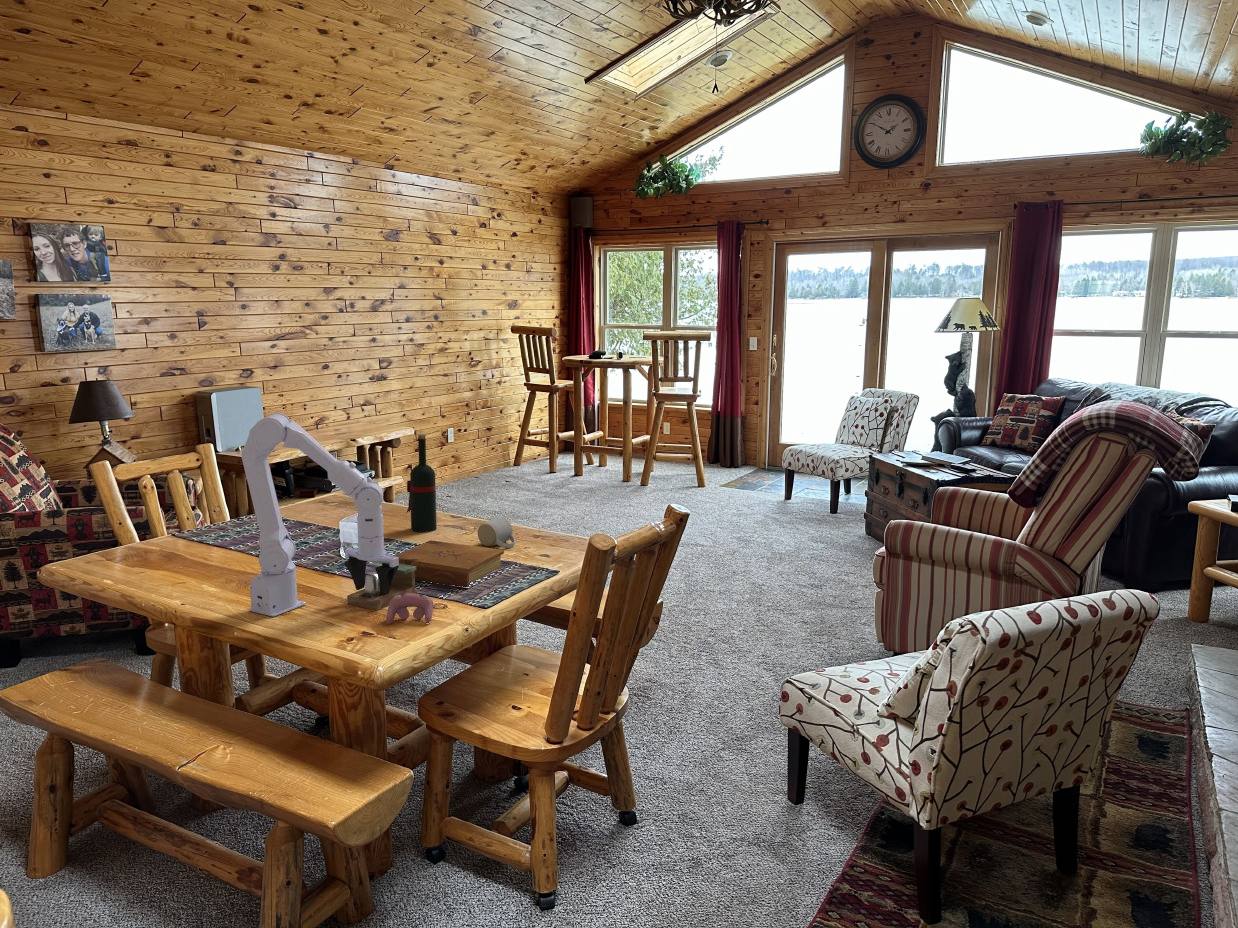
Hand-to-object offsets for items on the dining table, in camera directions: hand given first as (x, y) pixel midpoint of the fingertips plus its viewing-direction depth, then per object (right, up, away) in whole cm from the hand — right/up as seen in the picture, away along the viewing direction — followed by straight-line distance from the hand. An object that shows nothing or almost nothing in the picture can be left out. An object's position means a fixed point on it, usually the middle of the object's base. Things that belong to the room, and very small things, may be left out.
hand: (372, 591), depth 189 cm
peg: (0, -3, 0) cm, 3 cm away
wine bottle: (-5, +9, +66) cm, 67 cm away
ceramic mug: (+22, +6, +51) cm, 56 cm away
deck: (+1, -2, +3) cm, 4 cm away
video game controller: (+11, -5, -10) cm, 16 cm away
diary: (+13, +1, +24) cm, 27 cm away
